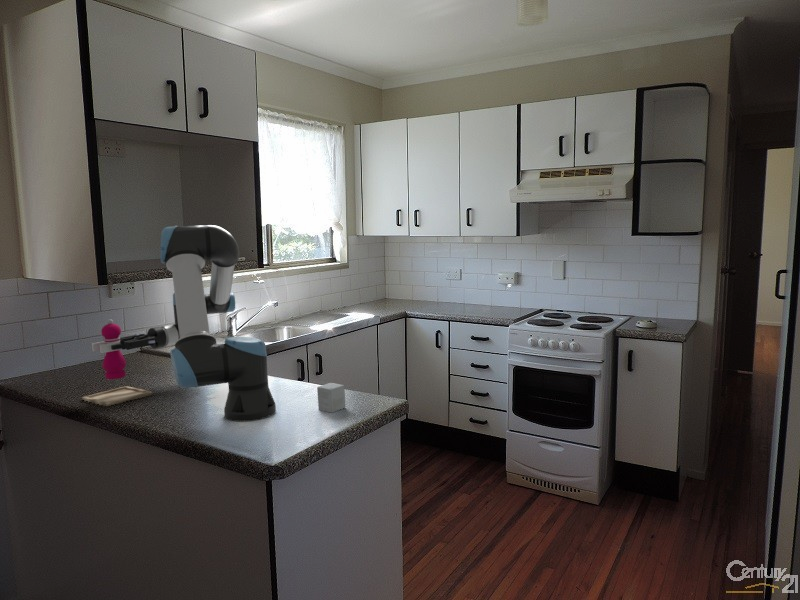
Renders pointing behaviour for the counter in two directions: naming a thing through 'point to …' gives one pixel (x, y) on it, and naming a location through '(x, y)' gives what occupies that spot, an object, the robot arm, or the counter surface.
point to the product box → (331, 397)
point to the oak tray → (117, 396)
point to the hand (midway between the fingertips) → (96, 348)
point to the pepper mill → (113, 352)
